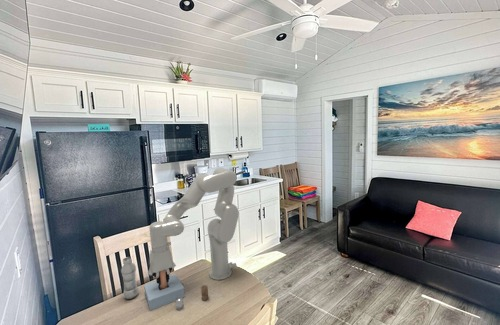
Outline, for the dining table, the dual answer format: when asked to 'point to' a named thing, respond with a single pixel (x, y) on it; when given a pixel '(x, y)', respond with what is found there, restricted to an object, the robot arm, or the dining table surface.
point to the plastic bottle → (129, 278)
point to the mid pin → (204, 293)
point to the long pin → (163, 279)
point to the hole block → (163, 292)
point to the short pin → (179, 303)
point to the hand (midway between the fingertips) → (163, 282)
